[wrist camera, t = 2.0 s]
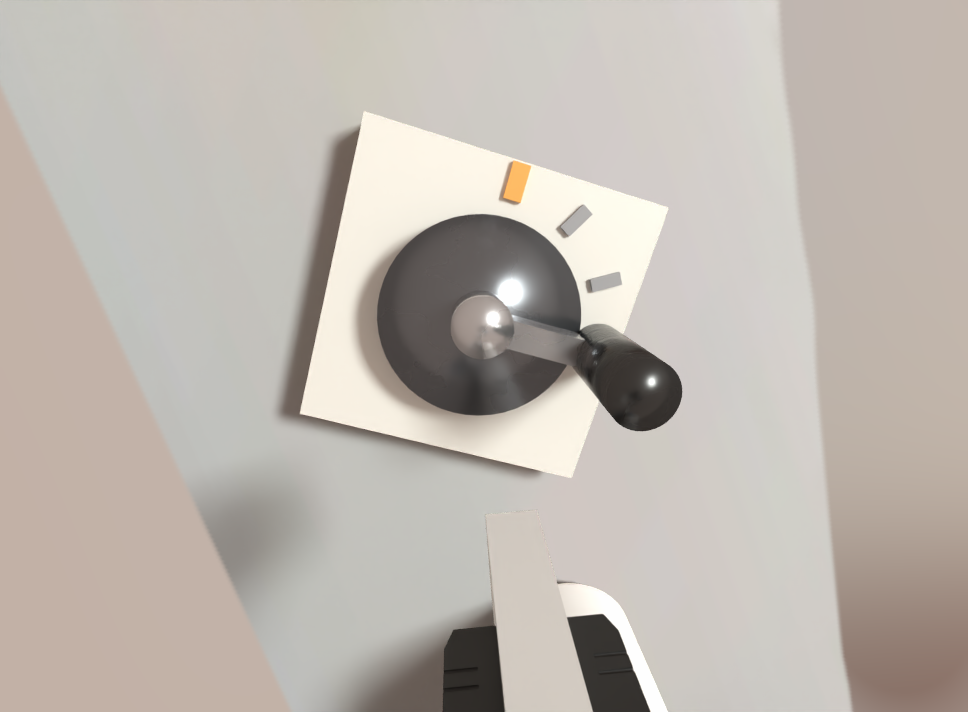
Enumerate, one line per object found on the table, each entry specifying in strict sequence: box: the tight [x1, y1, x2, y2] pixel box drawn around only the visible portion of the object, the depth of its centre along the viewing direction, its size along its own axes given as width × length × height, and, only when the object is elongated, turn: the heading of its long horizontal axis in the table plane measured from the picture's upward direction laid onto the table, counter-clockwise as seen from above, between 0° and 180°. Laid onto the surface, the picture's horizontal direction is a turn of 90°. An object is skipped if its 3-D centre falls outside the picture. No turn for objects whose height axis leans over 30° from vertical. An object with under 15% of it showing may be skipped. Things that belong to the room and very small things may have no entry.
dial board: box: [300, 111, 669, 478], centre depth 25 cm, size 14×14×2 cm
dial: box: [377, 214, 682, 431], centre depth 20 cm, size 11×9×7 cm
